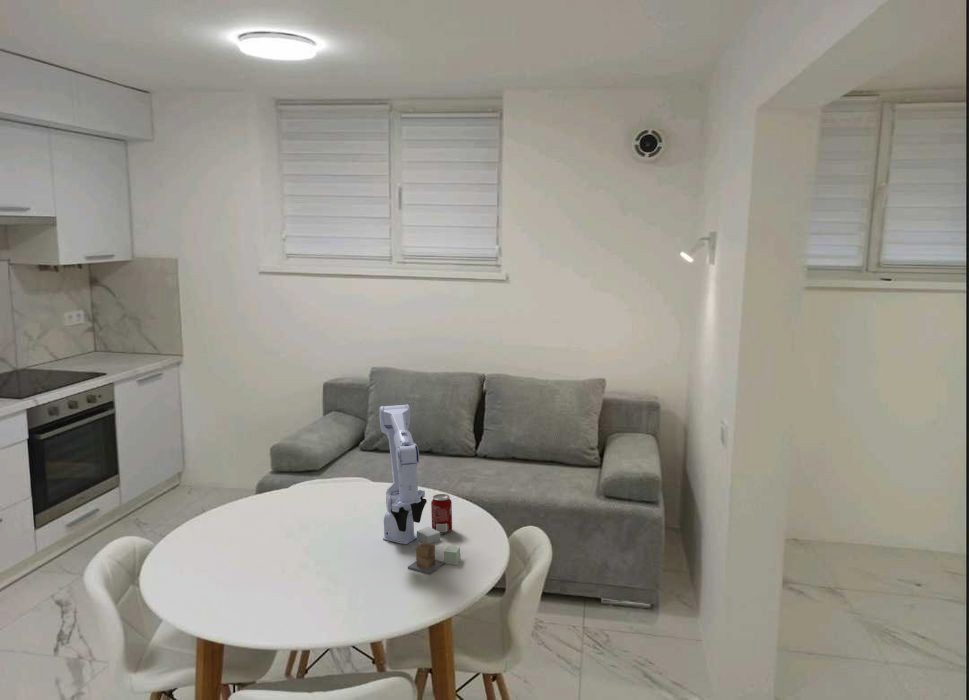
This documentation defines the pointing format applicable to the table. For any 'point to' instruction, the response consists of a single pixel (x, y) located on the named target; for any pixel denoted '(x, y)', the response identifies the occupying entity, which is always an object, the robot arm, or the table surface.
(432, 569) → the slate coaster
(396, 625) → the table surface
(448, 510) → the soda can
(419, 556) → the walnut block
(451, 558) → the sage block
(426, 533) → the grey plastic box
